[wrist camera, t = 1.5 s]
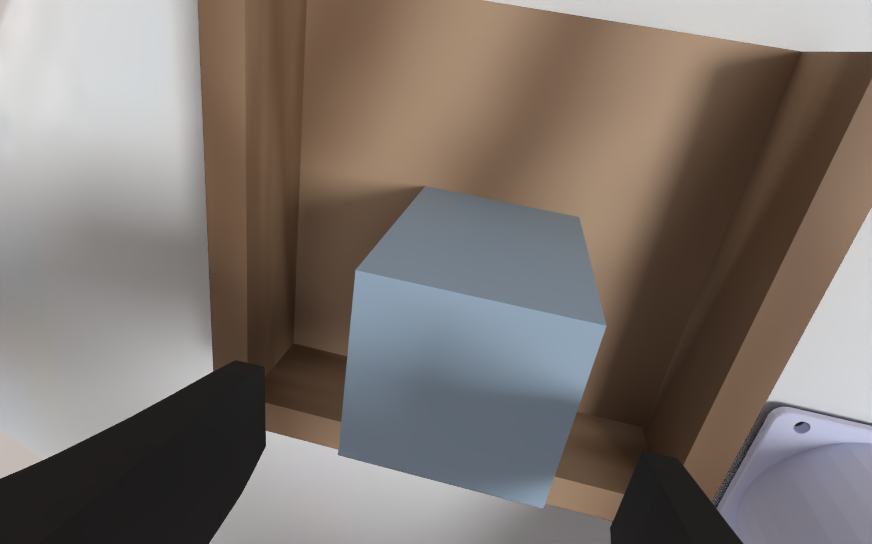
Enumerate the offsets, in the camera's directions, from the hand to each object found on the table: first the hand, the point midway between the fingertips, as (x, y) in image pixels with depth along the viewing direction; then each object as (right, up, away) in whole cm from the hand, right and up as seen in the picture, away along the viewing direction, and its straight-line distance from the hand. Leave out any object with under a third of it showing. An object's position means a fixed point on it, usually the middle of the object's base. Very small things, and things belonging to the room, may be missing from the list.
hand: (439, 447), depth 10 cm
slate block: (+2, +3, +8) cm, 9 cm away
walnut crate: (+2, +5, +8) cm, 10 cm away
